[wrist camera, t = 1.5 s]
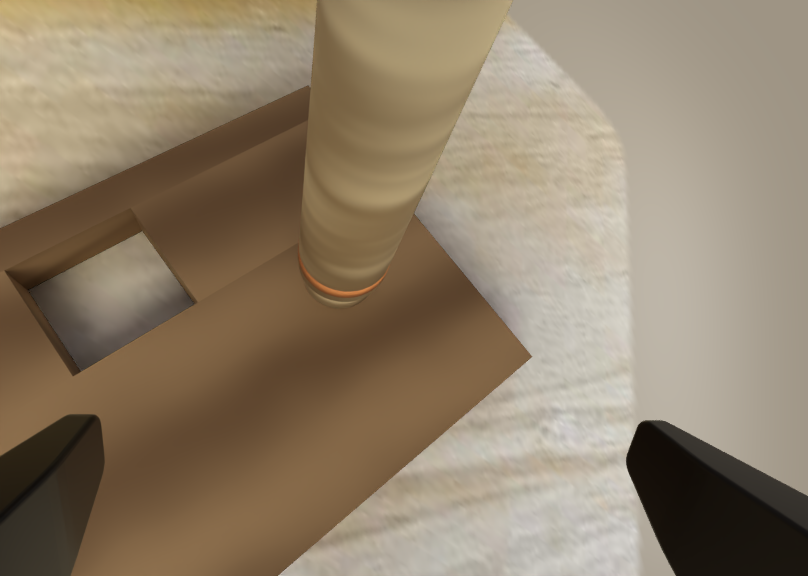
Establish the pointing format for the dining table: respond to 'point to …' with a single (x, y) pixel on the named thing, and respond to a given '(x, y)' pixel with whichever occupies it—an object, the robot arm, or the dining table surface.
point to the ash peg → (380, 128)
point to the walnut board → (240, 360)
